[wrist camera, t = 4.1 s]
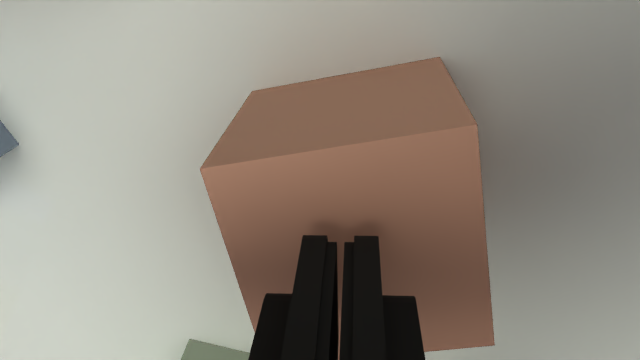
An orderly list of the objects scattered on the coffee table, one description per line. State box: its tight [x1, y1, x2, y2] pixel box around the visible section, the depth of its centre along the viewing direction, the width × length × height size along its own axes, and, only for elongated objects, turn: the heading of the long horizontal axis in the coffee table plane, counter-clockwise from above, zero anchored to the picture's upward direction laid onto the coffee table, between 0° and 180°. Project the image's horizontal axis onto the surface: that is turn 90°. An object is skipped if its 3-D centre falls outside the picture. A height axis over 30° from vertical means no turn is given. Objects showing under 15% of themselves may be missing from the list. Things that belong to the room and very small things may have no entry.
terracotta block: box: [200, 57, 494, 360], centre depth 15 cm, size 6×6×6 cm
